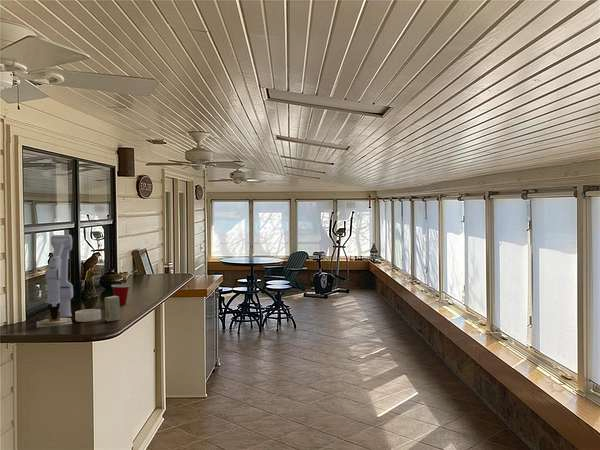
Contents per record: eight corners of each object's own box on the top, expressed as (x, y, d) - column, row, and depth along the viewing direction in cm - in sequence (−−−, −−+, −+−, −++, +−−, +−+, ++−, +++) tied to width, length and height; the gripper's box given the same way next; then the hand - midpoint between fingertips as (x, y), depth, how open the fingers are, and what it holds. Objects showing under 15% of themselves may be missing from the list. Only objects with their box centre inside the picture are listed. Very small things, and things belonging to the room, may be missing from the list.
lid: (38, 321, 269) (38, 310, 269) (68, 318, 275) (68, 308, 275) (39, 326, 256) (38, 315, 256) (70, 323, 263) (69, 312, 263)
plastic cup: (131, 305, 316) (130, 285, 315) (112, 306, 312) (111, 286, 311) (129, 302, 326) (129, 283, 325) (111, 303, 322) (110, 284, 321)
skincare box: (115, 318, 275) (115, 295, 274) (120, 319, 272) (119, 296, 272) (104, 320, 270) (104, 297, 269) (109, 321, 267) (108, 297, 267)
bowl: (75, 319, 276) (74, 310, 276) (99, 316, 281) (99, 308, 281) (76, 323, 265) (76, 314, 265) (101, 320, 270) (101, 311, 270)
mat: (36, 322, 269) (36, 321, 269) (70, 318, 277) (70, 318, 277) (36, 328, 255) (36, 327, 255) (72, 324, 262) (72, 323, 262)
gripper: (44, 290, 270) (45, 317, 270) (44, 294, 257) (45, 322, 257) (59, 289, 273) (60, 315, 274) (60, 293, 260) (61, 320, 261)
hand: (54, 318), depth 266 cm, fingers closed on lid, 3 cm apart
